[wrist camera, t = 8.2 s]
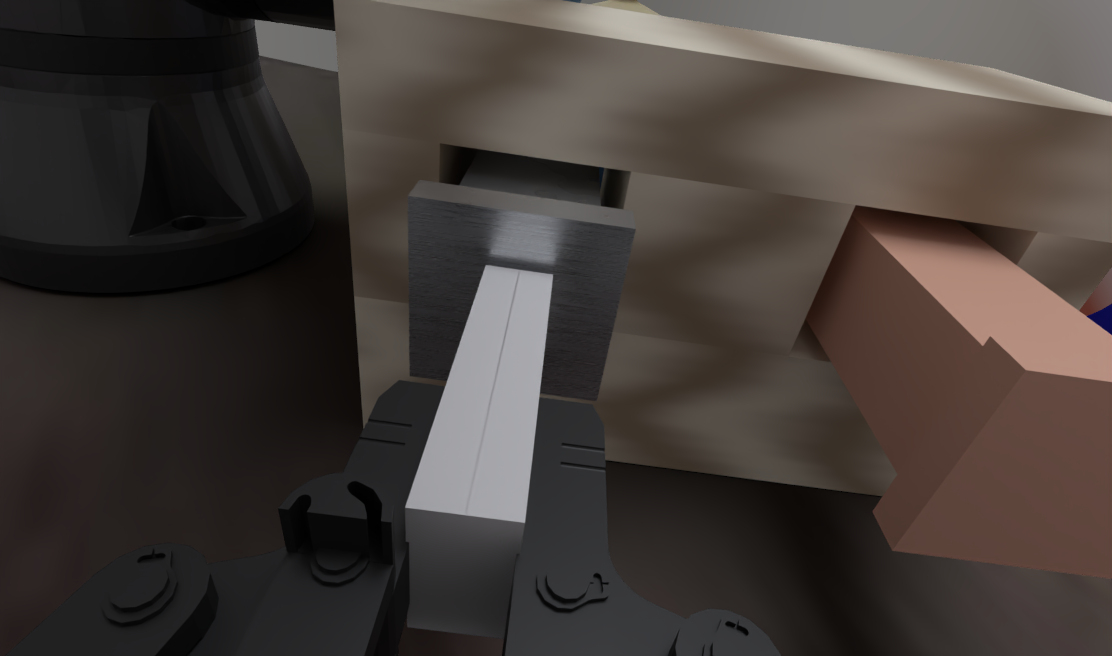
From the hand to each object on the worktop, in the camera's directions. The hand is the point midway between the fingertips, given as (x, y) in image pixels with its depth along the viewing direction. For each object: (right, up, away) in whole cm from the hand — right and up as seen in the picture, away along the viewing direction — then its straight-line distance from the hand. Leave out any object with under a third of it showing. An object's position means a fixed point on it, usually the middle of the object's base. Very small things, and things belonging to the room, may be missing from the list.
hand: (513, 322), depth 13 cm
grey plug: (0, +2, +7) cm, 7 cm away
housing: (+5, -3, +11) cm, 13 cm away
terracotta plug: (+11, -2, +4) cm, 12 cm away
